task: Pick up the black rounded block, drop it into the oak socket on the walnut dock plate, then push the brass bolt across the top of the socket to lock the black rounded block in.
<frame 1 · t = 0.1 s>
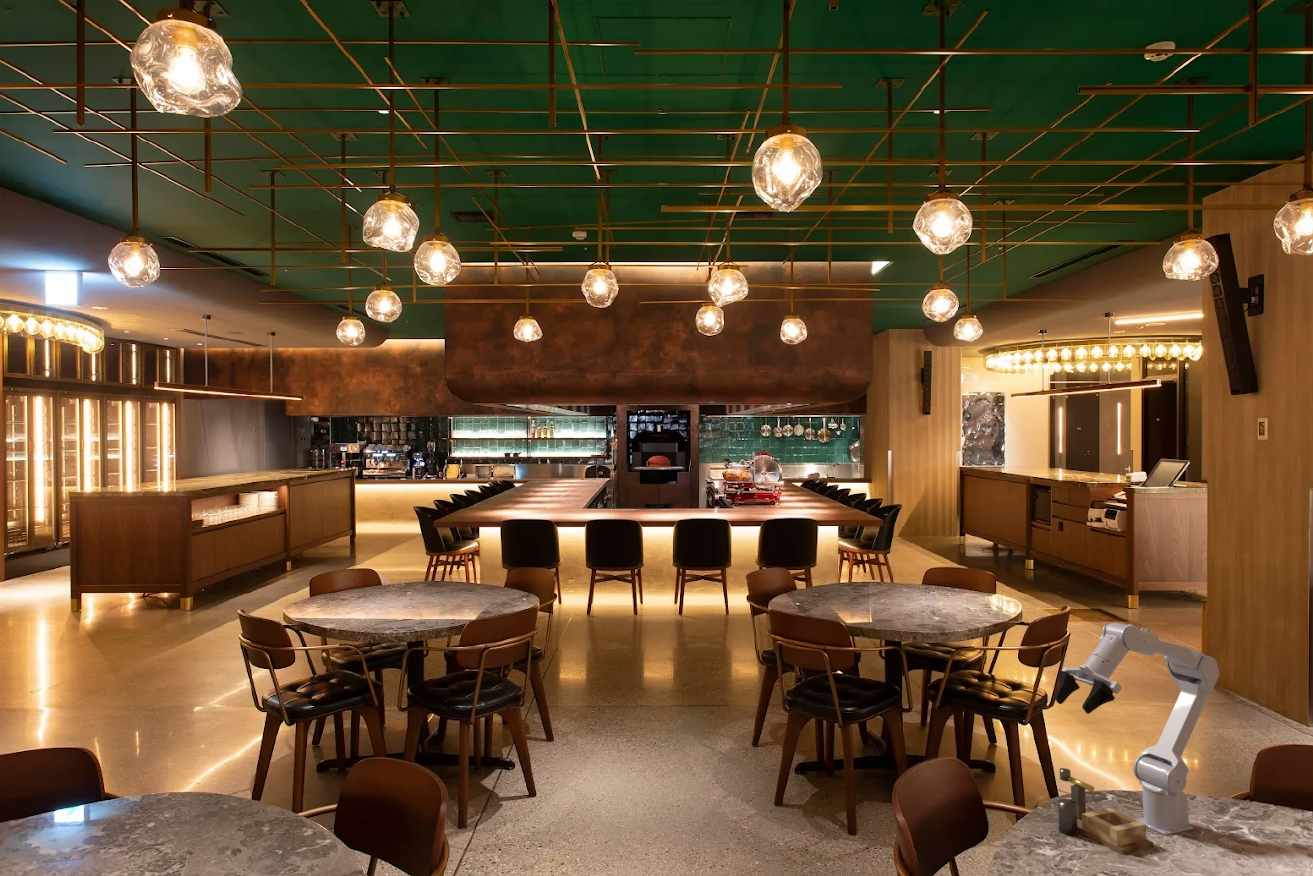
hand: (1071, 705, 174), 32 cm above the table, tool tilted 50°, fingers open, 7 cm apart
dock: (1113, 838, 175), on the table
black rounded block: (1068, 832, 178), on the table
lock bolt: (1076, 779, 185), point 10 cm above the table, slide at 0.0 cm
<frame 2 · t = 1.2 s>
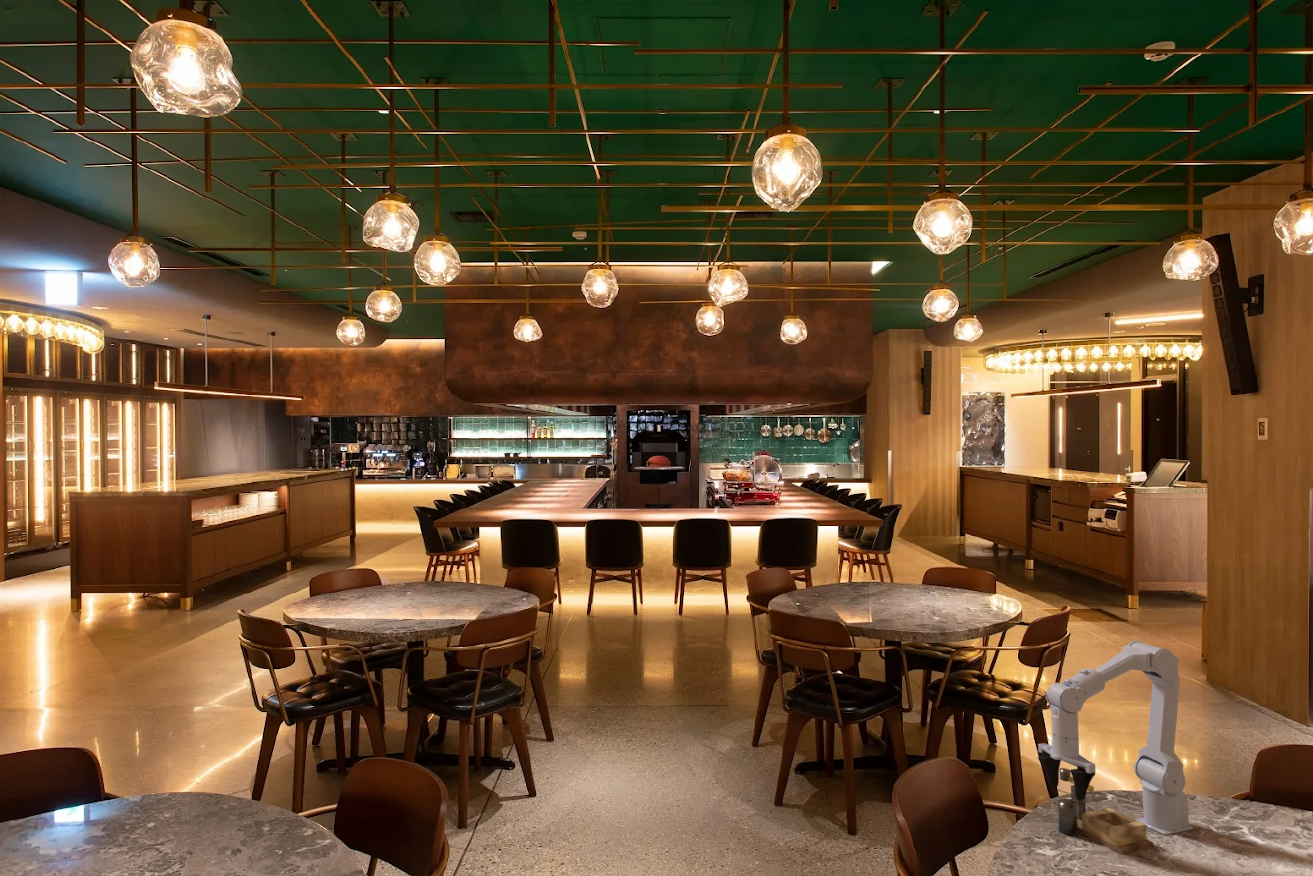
hand: (1066, 792, 178), 9 cm above the table, tool pointing down, fingers open, 7 cm apart
nothing on the table moved.
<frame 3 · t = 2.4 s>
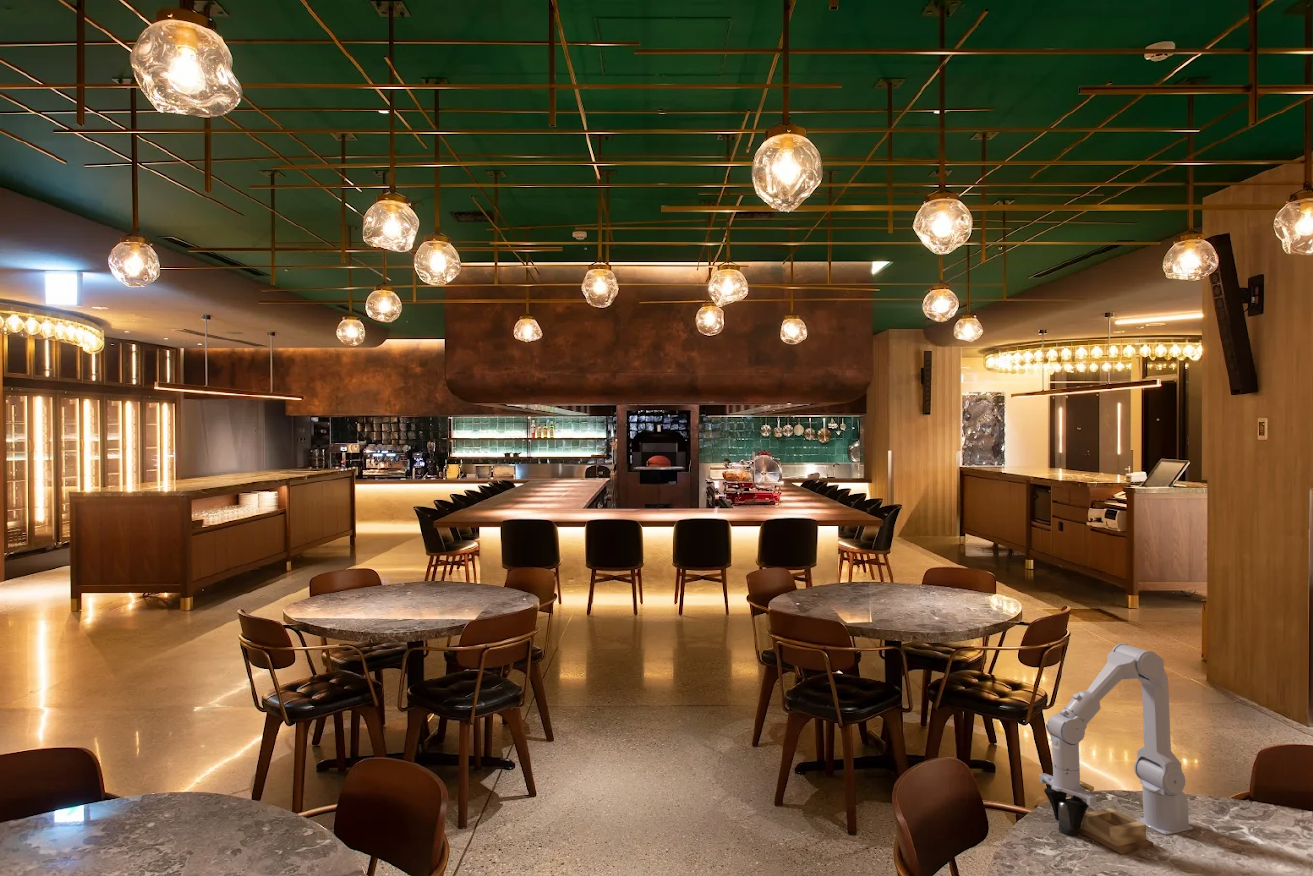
hand: (1067, 824, 178), 2 cm above the table, tool pointing down, fingers closed on black rounded block, 4 cm apart
black rounded block: (1068, 832, 178), on the table, touching gripper
everything else where it was.
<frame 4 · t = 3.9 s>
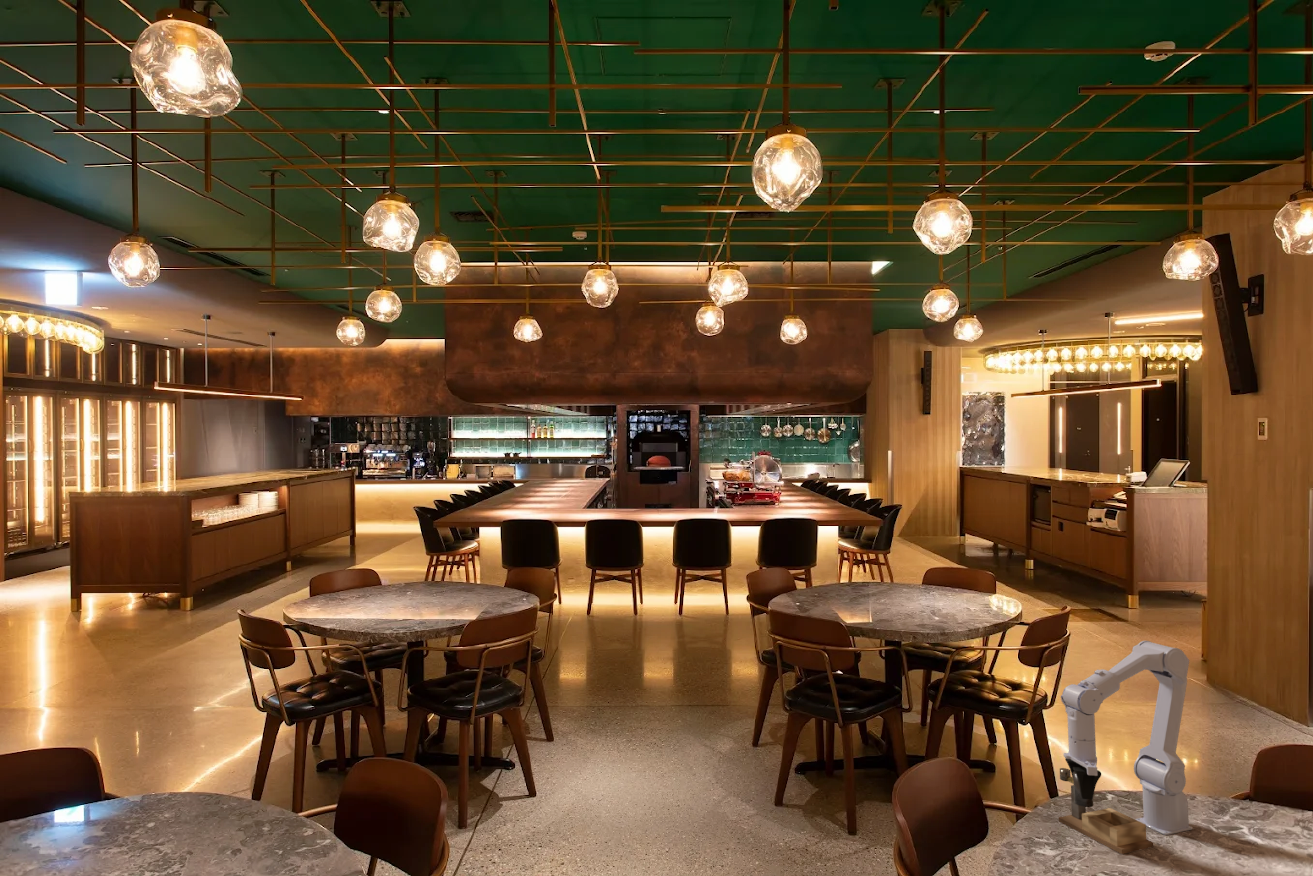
hand: (1083, 794, 177), 9 cm above the table, tool pointing down, fingers closed on black rounded block, 4 cm apart
black rounded block: (1083, 803, 177), point 7 cm above the table, touching gripper
everything else where it was.
when the fingers open (5 cm above the table, at t = 5.4 s): black rounded block drops 2 cm, resting on dock.
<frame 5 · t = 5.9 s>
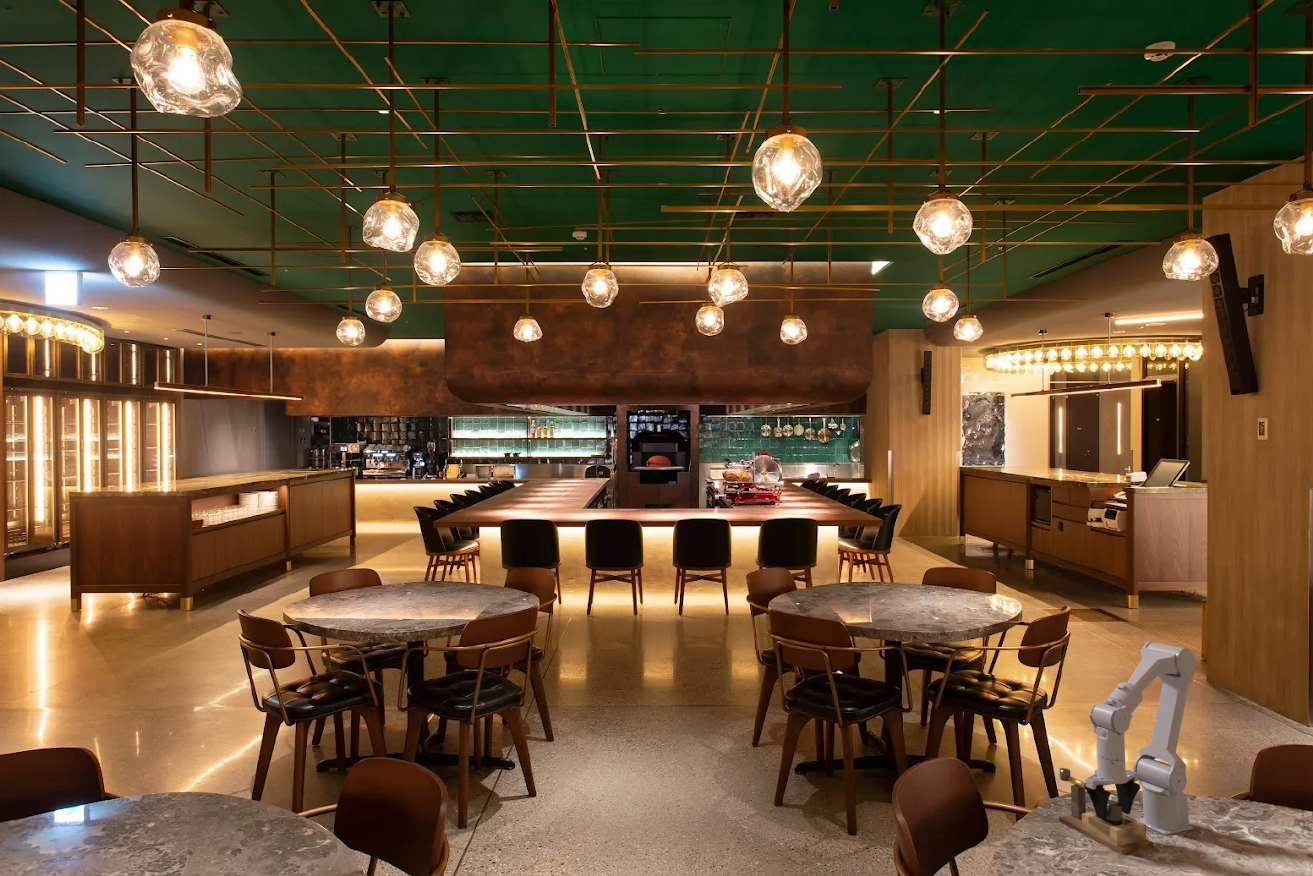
hand: (1113, 815, 175), 5 cm above the table, tool pointing down, fingers open, 7 cm apart
black rounded block: (1113, 833, 175), point 1 cm above the table, touching dock
everything else where it was.
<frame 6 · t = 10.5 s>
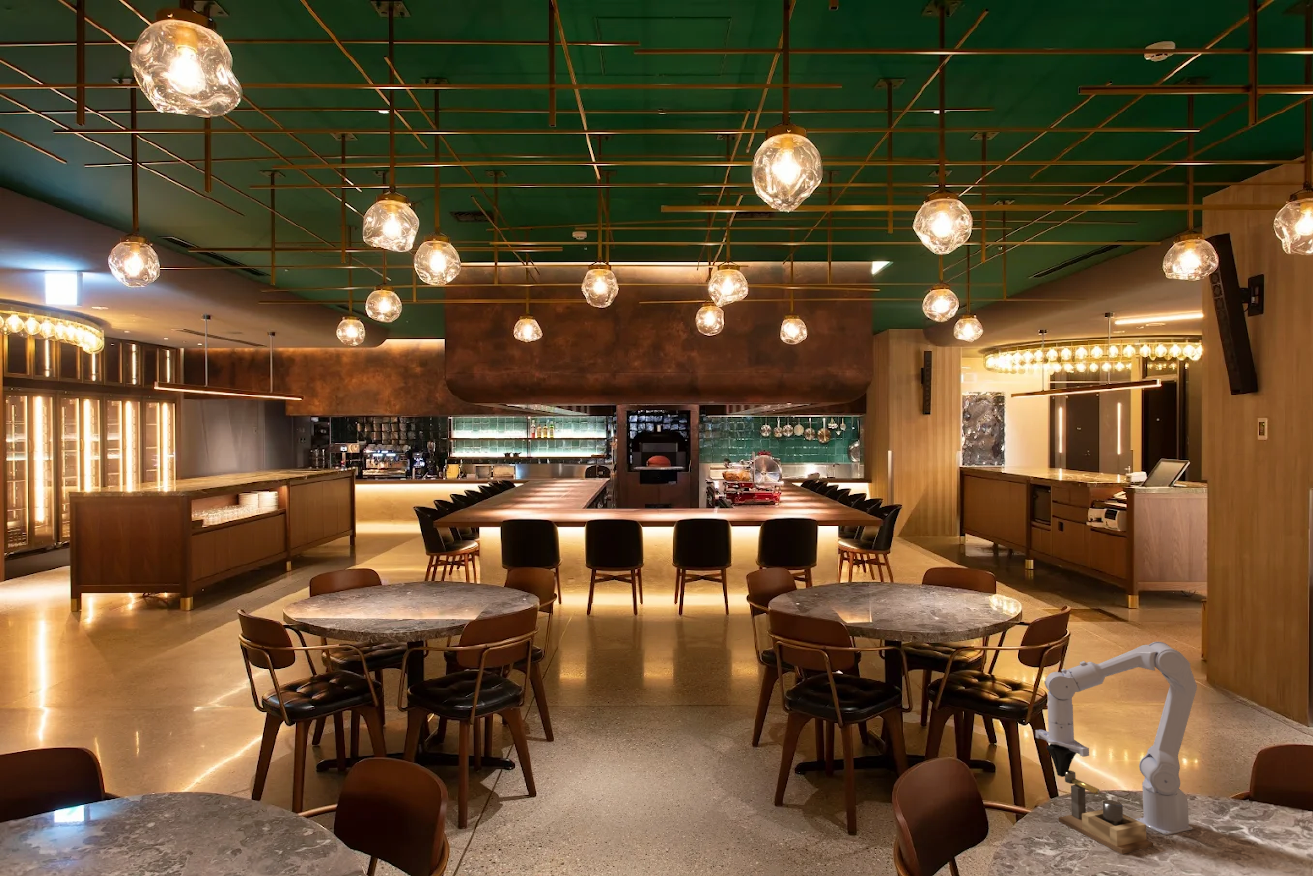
hand: (1062, 775, 189), 9 cm above the table, tool pointing down, fingers closed
lock bolt: (1081, 782, 183), point 10 cm above the table, slide at 1.5 cm, touching gripper
everything else where it was.
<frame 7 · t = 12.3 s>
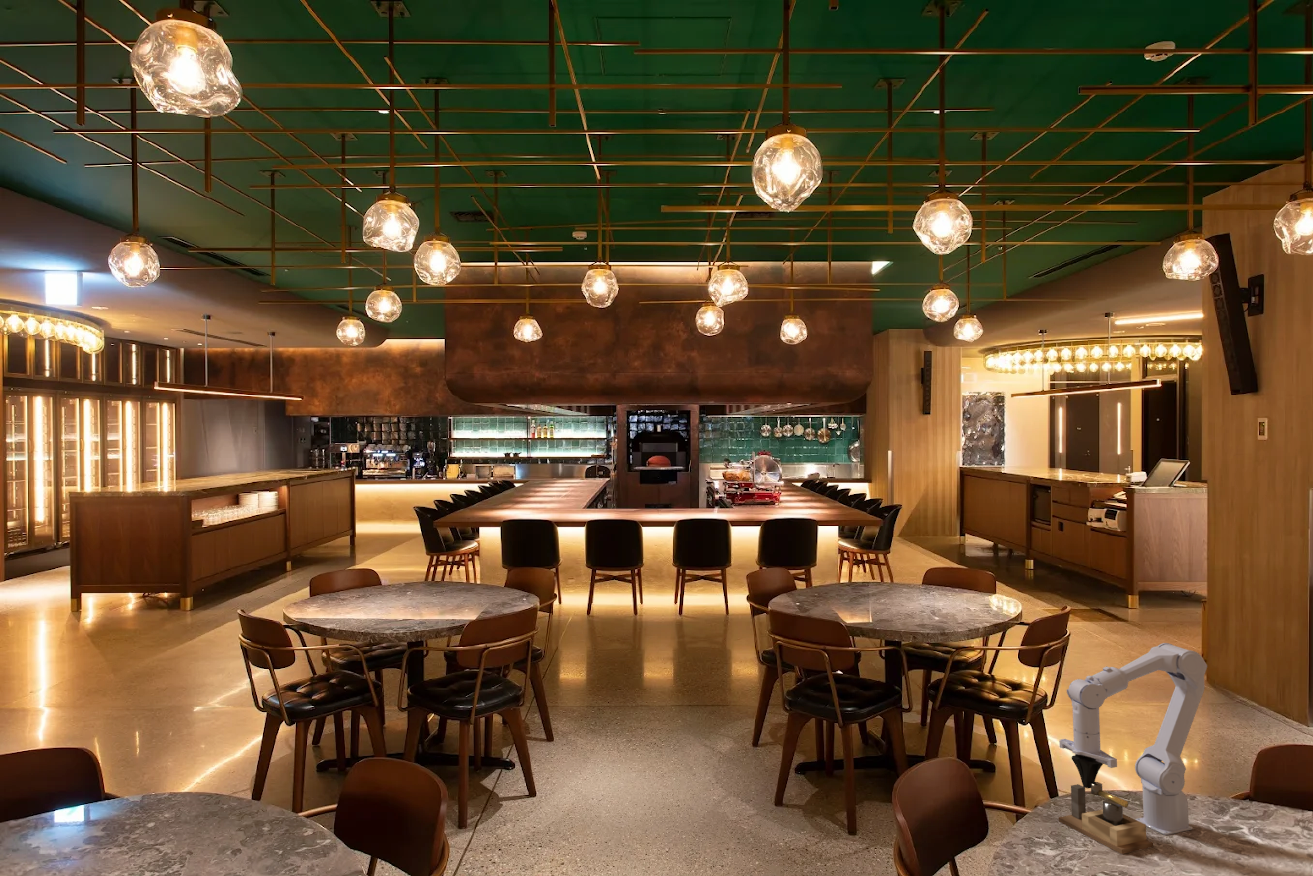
hand: (1088, 787, 181), 9 cm above the table, tool pointing down, fingers closed
lock bolt: (1108, 794, 176), point 10 cm above the table, slide at 9.0 cm, touching gripper
everything else where it was.
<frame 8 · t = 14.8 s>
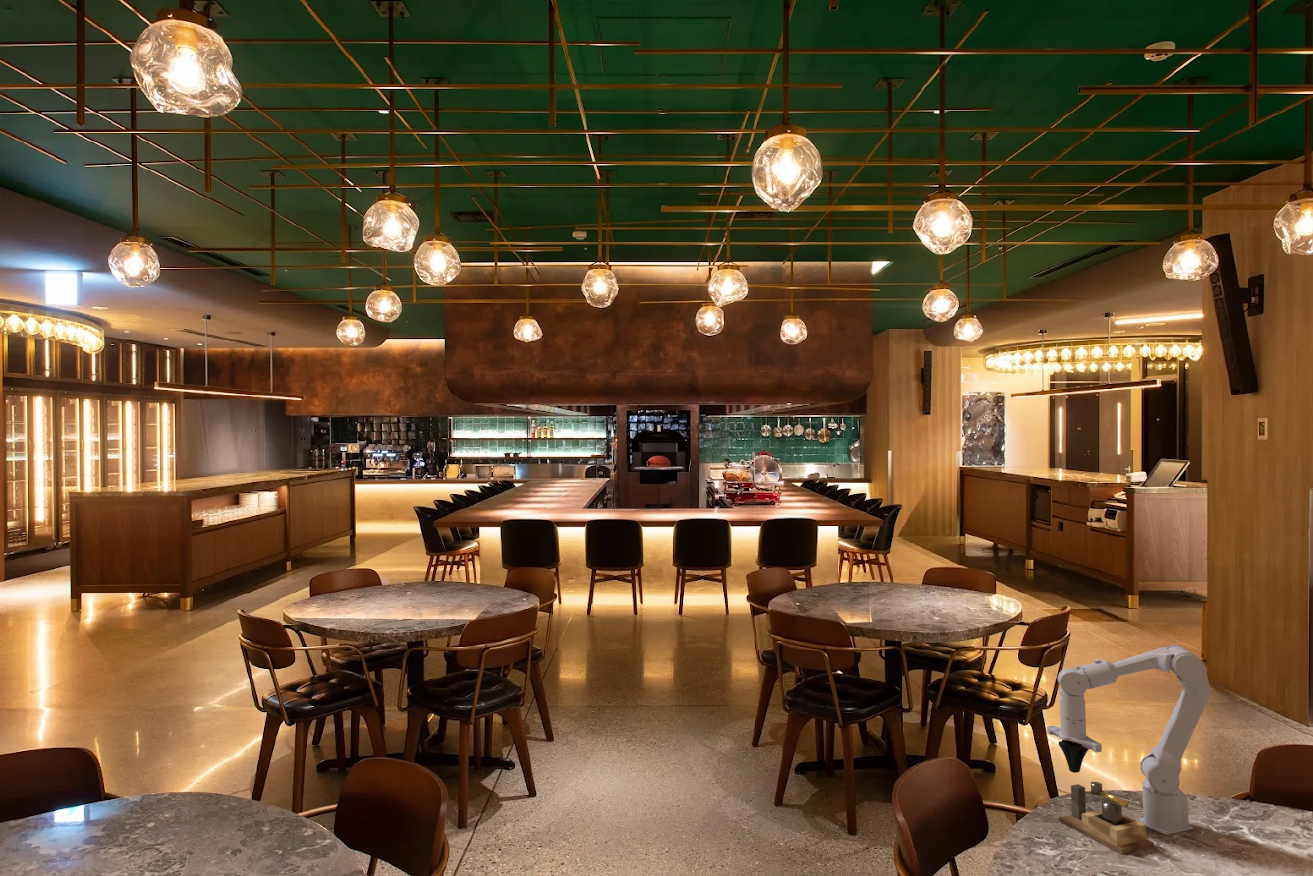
hand: (1074, 771, 189), 10 cm above the table, tool pointing down, fingers closed
lock bolt: (1108, 794, 176), point 10 cm above the table, slide at 9.0 cm
everything else where it was.
at the end: black rounded block 0.1 cm off-centre on the dock, point 1.0 cm above the dock's base; black rounded block tilted 1°; lock bolt slide at 9.0 cm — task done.
